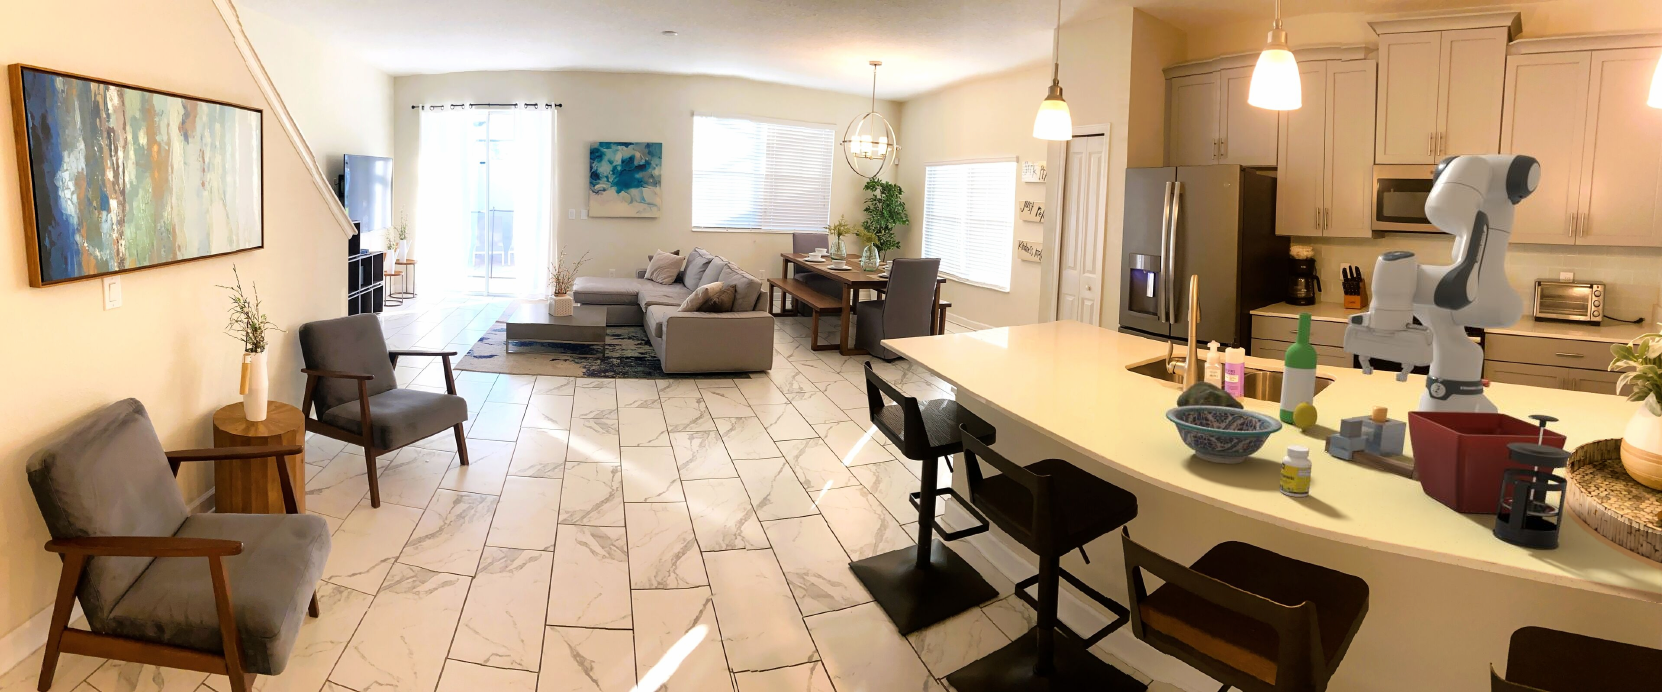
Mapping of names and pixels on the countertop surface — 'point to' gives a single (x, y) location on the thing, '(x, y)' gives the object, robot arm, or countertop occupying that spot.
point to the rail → (1381, 462)
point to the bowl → (1222, 431)
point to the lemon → (1305, 416)
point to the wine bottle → (1298, 371)
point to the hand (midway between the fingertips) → (1383, 377)
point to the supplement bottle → (1296, 472)
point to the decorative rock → (1207, 396)
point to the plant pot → (1471, 455)
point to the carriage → (1348, 439)
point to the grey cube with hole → (1384, 436)
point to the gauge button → (1379, 414)
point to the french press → (1519, 522)
